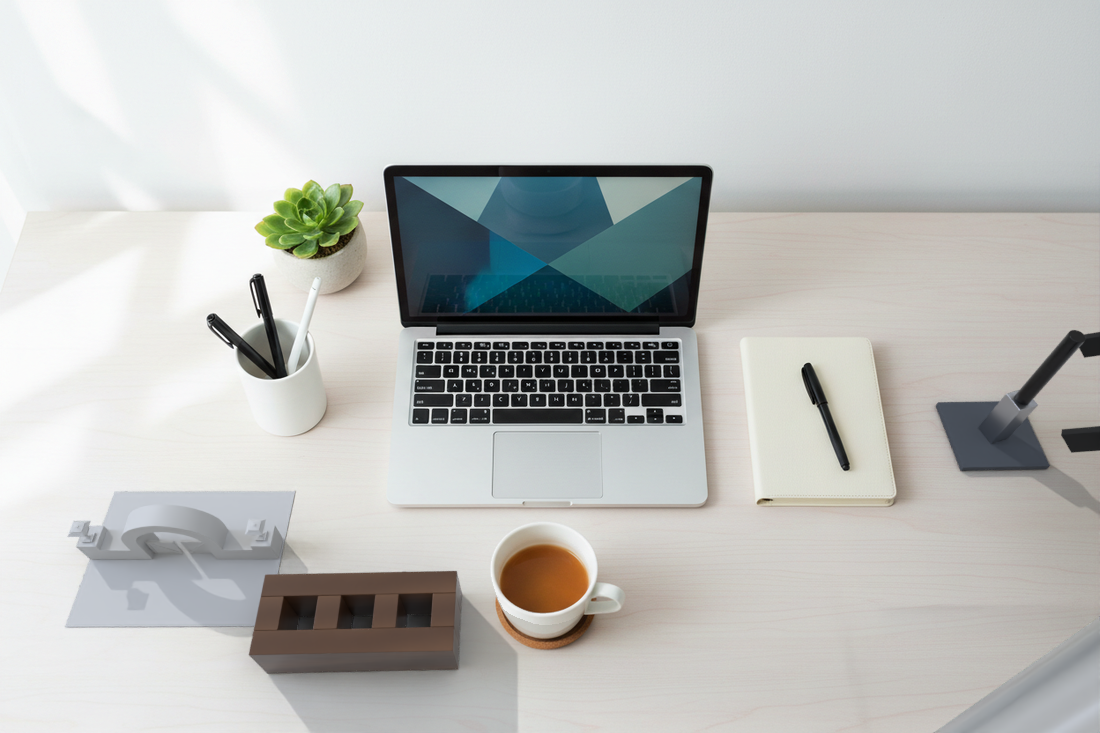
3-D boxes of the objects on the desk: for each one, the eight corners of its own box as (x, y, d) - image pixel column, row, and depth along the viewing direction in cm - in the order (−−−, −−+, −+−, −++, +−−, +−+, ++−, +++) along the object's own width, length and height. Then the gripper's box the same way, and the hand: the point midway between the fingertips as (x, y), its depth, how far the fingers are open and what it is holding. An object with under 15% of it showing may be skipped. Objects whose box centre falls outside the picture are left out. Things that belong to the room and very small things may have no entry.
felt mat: (1046, 469, 89) (1050, 466, 89) (960, 471, 89) (963, 467, 88) (1016, 404, 95) (1019, 400, 94) (935, 405, 94) (937, 402, 94)
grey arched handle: (90, 559, 82) (52, 526, 75) (98, 538, 83) (61, 504, 77) (278, 559, 82) (256, 525, 75) (283, 538, 83) (261, 504, 77)
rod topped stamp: (990, 444, 90) (1075, 348, 76) (977, 427, 92) (1059, 329, 77) (1007, 438, 91) (1095, 342, 76) (994, 422, 92) (1078, 324, 78)
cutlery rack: (458, 669, 75) (453, 650, 71) (267, 674, 75) (248, 655, 70) (462, 593, 80) (457, 570, 75) (281, 596, 80) (264, 574, 75)
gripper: (1387, 504, 60) (1074, 509, 76) (1358, 293, 74) (1096, 335, 90) (1365, 441, 57) (1045, 460, 74) (1339, 233, 71) (1072, 288, 87)
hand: (1073, 391), depth 82 cm, fingers open, 13 cm apart
